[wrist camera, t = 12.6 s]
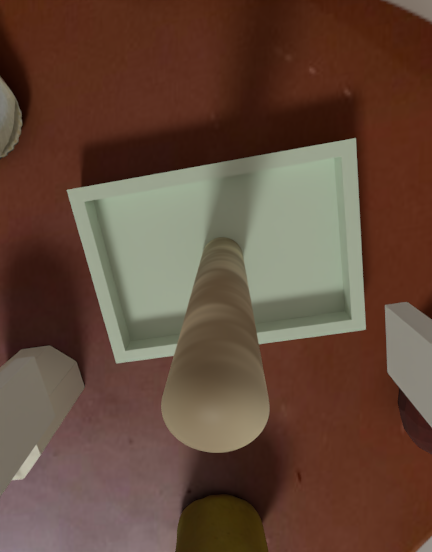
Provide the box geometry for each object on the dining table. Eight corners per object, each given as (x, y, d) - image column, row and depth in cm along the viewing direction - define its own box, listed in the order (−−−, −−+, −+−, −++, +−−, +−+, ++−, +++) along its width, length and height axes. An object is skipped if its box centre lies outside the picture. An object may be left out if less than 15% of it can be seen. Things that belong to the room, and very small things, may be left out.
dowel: (206, 279, 28) (173, 457, 11) (198, 240, 27) (150, 369, 10) (245, 273, 28) (275, 446, 11) (239, 234, 27) (261, 354, 10)
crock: (24, 412, 34) (-36, 485, 26) (0, 352, 32) (-72, 410, 24) (90, 404, 33) (48, 476, 25) (70, 342, 31) (18, 399, 24)
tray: (125, 348, 31) (116, 363, 29) (80, 188, 27) (66, 190, 25) (354, 316, 30) (365, 329, 27) (343, 140, 26) (355, 137, 23)
